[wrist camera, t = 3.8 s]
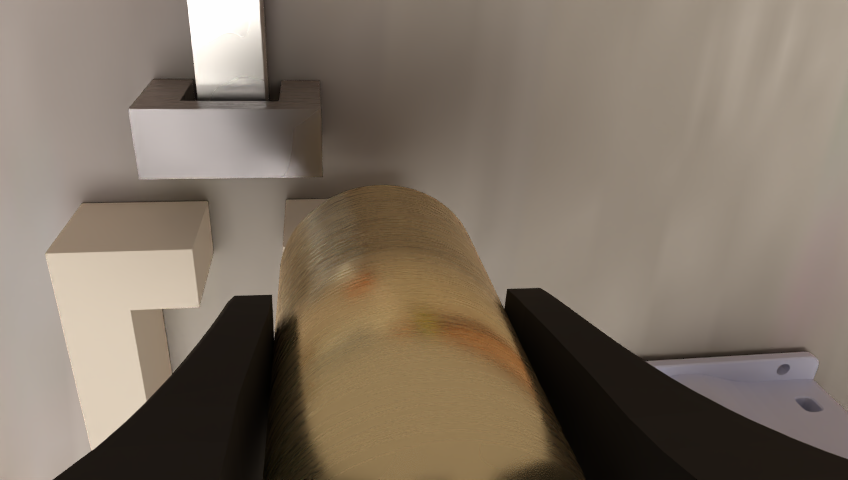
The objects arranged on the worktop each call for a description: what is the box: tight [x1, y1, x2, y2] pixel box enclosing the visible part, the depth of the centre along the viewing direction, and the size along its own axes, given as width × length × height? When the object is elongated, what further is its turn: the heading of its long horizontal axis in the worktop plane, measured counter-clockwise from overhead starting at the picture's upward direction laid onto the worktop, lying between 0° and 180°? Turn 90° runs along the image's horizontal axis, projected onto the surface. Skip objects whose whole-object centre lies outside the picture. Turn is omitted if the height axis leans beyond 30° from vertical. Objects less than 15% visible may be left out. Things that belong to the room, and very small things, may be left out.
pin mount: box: [128, 79, 323, 179], centre depth 17 cm, size 4×2×3 cm, turn 87°
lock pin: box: [187, 0, 269, 101], centre depth 16 cm, size 3×7×3 cm, turn 177°
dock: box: [45, 199, 328, 451], centre depth 20 cm, size 9×9×3 cm
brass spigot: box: [263, 185, 586, 480], centre depth 11 cm, size 4×4×7 cm
